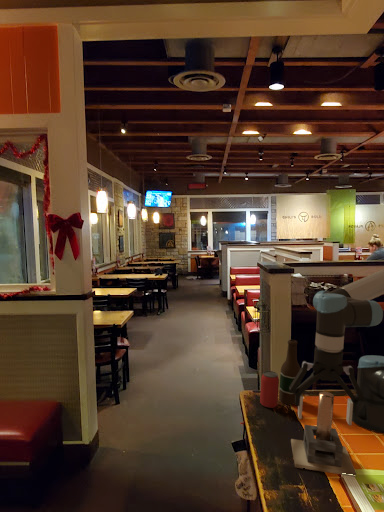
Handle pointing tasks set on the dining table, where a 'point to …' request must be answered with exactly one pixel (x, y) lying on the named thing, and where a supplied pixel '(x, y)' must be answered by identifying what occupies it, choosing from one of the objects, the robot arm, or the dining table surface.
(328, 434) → the copper tube
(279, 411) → the dining table surface
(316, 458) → the collar stand
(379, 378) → the robot arm
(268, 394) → the beer can
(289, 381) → the beer bottle
